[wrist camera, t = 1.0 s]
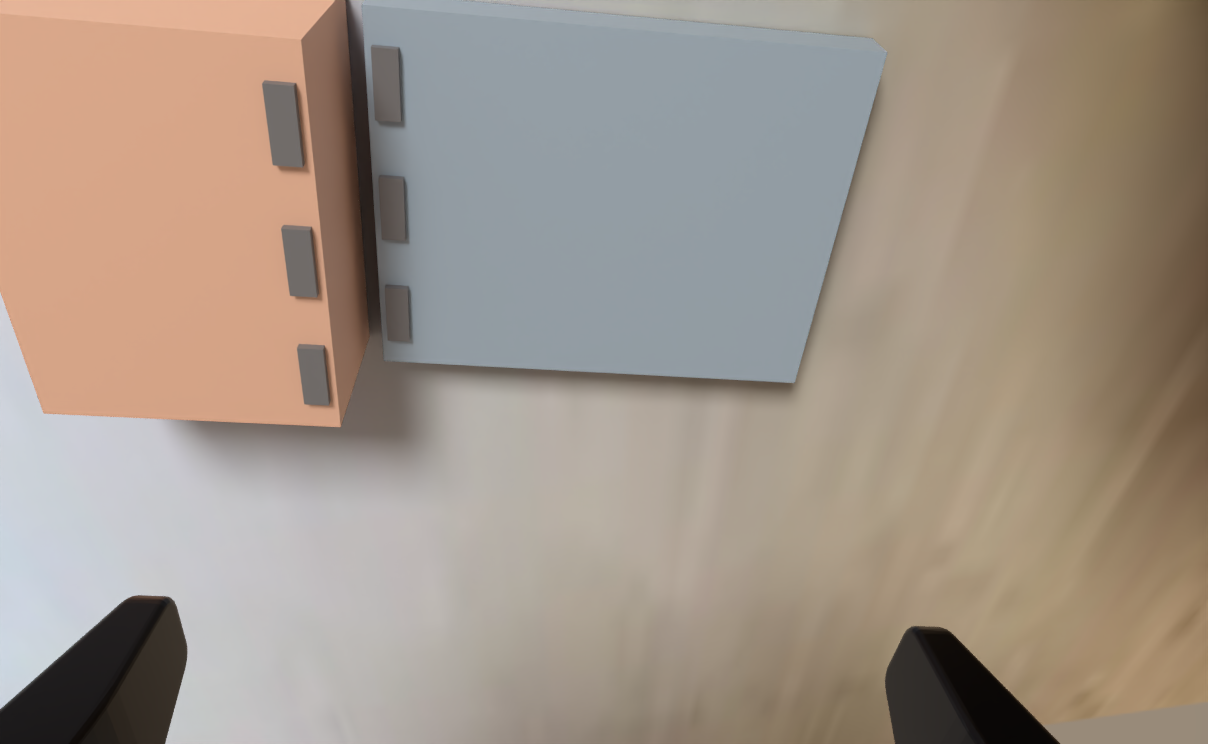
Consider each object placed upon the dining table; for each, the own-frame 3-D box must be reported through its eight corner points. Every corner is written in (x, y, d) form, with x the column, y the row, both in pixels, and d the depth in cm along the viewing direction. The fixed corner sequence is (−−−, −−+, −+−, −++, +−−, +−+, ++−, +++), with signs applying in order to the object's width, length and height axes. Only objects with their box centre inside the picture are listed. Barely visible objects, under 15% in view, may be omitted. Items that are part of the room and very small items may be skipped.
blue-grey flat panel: (872, 38, 18) (889, 54, 17) (785, 359, 22) (796, 387, 21) (370, -8, 17) (360, 6, 16) (390, 337, 21) (382, 364, 20)
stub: (344, -11, 17) (297, 42, 14) (369, 336, 21) (339, 432, 18) (14, -42, 16) (-110, 7, 13) (113, 322, 21) (39, 418, 18)
